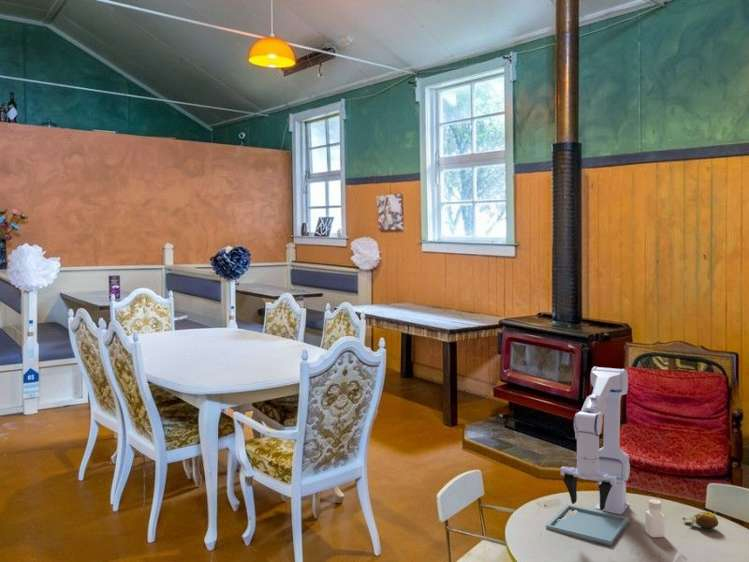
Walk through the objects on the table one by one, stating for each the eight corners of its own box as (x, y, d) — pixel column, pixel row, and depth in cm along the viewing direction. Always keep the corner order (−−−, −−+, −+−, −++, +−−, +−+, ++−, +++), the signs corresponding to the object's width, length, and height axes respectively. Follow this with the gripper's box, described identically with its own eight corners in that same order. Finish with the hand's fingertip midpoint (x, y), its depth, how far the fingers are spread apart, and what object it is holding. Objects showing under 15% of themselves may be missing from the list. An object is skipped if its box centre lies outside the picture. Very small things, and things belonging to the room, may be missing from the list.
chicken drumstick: (698, 515, 188) (699, 503, 188) (725, 526, 181) (726, 514, 181) (680, 520, 185) (680, 508, 184) (706, 532, 177) (707, 519, 177)
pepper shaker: (644, 531, 179) (644, 498, 178) (658, 531, 179) (658, 498, 178) (650, 538, 175) (651, 504, 174) (665, 538, 175) (665, 504, 174)
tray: (567, 509, 195) (567, 504, 195) (628, 523, 185) (628, 517, 185) (546, 530, 181) (546, 525, 180) (611, 546, 170) (611, 541, 170)
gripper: (556, 455, 173) (556, 504, 173) (611, 465, 164) (611, 516, 165) (565, 448, 179) (565, 496, 179) (618, 457, 170) (618, 507, 171)
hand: (588, 505), depth 172 cm, fingers open, 7 cm apart
